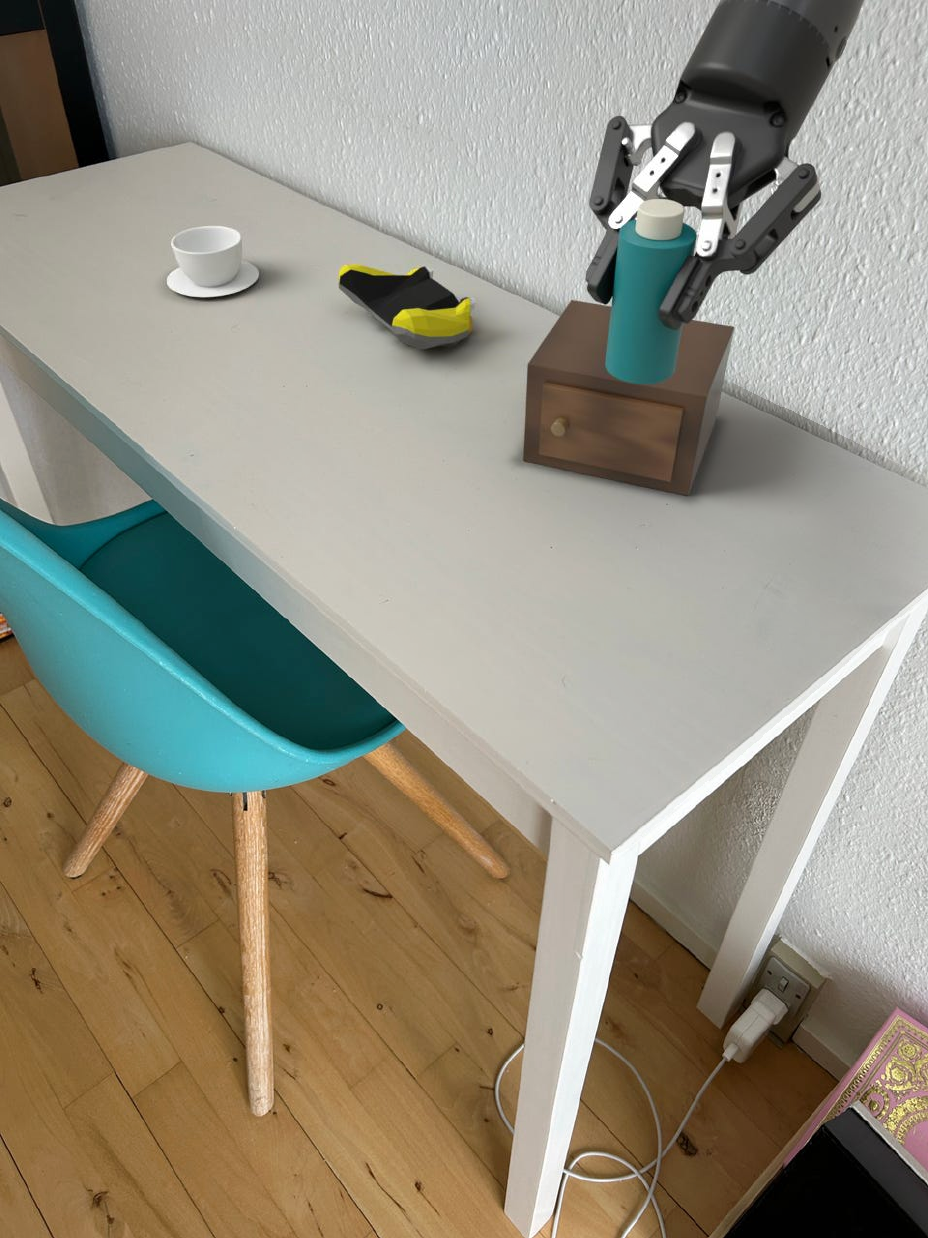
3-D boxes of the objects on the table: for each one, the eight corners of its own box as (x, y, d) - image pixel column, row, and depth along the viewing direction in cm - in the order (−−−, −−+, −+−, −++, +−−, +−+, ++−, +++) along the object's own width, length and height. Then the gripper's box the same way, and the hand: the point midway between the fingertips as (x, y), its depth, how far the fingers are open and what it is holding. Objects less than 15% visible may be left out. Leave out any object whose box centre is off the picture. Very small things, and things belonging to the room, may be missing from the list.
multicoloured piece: (405, 375, 92) (493, 348, 96) (402, 321, 89) (494, 294, 93) (333, 314, 102) (416, 291, 106) (328, 262, 98) (414, 241, 102)
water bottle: (681, 356, 63) (707, 198, 56) (666, 390, 60) (692, 227, 53) (614, 344, 64) (632, 188, 57) (597, 377, 61) (613, 216, 54)
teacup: (272, 288, 106) (266, 246, 103) (182, 308, 103) (173, 265, 99) (242, 255, 113) (235, 214, 109) (156, 273, 109) (147, 231, 106)
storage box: (715, 421, 86) (734, 326, 80) (684, 505, 77) (703, 405, 71) (564, 392, 90) (571, 299, 84) (517, 469, 81) (521, 371, 75)
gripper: (649, -27, 56) (510, 247, 58) (888, 13, 49) (722, 322, 51) (683, 57, 63) (558, 301, 64) (899, 102, 56) (752, 373, 58)
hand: (631, 309), depth 58 cm, fingers closed on water bottle, 4 cm apart
